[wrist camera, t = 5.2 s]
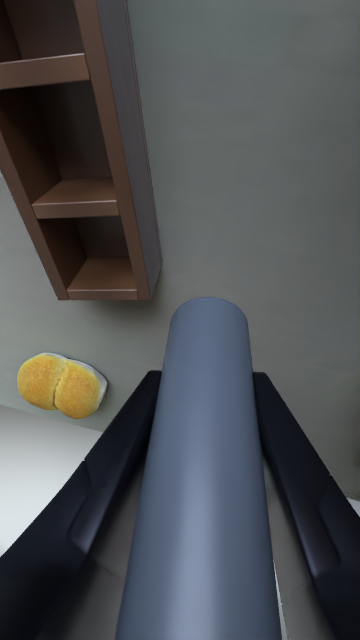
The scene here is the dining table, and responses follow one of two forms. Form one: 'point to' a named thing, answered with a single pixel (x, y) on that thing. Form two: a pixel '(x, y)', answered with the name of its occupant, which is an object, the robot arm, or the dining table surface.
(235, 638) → the smoky grey vial
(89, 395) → the bread roll
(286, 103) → the dining table surface
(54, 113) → the rack
